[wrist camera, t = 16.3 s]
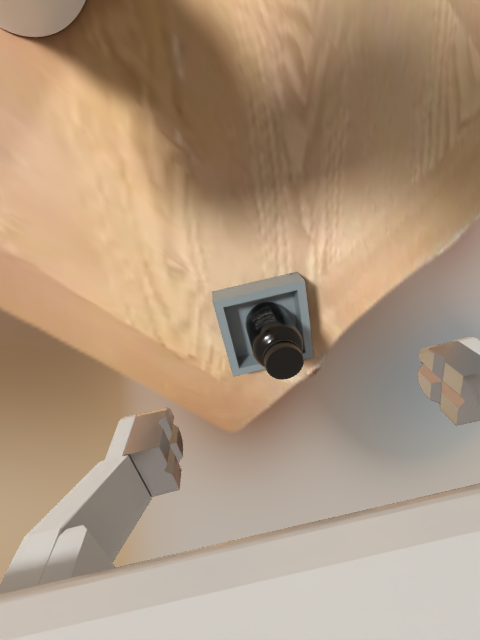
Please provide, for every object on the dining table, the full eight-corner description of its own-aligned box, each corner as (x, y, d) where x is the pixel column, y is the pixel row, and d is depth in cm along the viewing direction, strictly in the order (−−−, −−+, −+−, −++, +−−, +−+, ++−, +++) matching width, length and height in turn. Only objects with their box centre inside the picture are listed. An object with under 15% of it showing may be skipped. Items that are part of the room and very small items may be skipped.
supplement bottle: (243, 339, 48) (253, 386, 37) (247, 299, 45) (259, 337, 34) (284, 340, 49) (306, 386, 38) (291, 301, 46) (317, 339, 35)
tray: (212, 291, 45) (212, 301, 41) (297, 271, 45) (304, 280, 41) (231, 362, 51) (233, 376, 47) (306, 344, 51) (314, 357, 47)
